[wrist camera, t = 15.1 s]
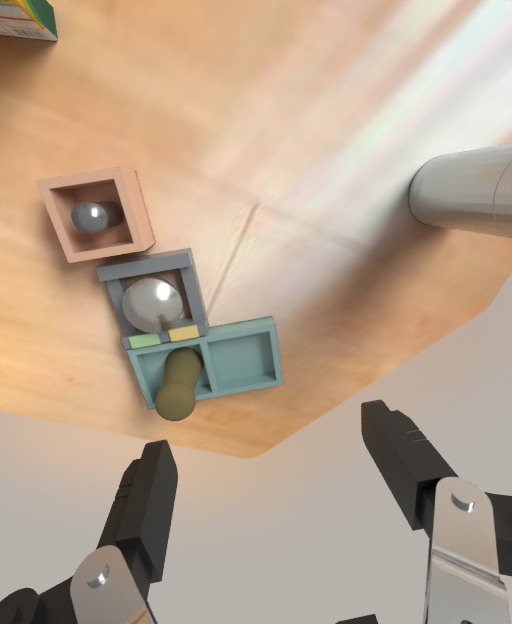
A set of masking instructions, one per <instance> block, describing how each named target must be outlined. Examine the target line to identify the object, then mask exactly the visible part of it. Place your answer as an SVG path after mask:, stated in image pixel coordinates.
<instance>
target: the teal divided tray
mask: <svg viewBox="0 0 512 624" xmlns="http://www.w3.org/2000/svg"><path fill="white" fill-rule="evenodd" d="M179 347H188V348H192V349H194V350H196V351H197V352H198V353H199V354H200V355H201V356H202V359H203V368H202V371H201V374H200V377H199V379H198V382H197V385H196V387H195V390H194V393H195V396H196V401H198V400H203V399H209V398H214V397H219V396H225V395H230V394H236V393H241V392H246V391H252V390H257V389H262V388H268V387H273V386H278V385H284V384H283V377H282V370H281V363H280V355H279V348H278V341H277V333H276V326H275V322H274V320H273V317H272V316H270V317H265V318H259V319H254V320H248V321H242V322H237V323H231V324H225V325H220V326H214V327H209V328H208V334H207V335H202V336H199V337H196V338H190V339H185V340H179V341H173V342H171V341H168V342H163V343H161V344H157V345H151V346H145V347H140V348H134V349H132V348H129V349H128V350H127V352H128V355H129V357H130V360H131V363H132V366H133V368H134V371H135V374H136V376H137V379H138V382H139V385H140V387H141V390H142V393H143V395H144V398H145V401H146V404H147V406H148V409H149V410H150V409H155V398H156V395H157V393H158V391H159V390H160V389H161V388H162V386H163V379H164V370H165V361H166V357H167V355H168V354H169V353H170V352H171V351H172V350H174V349H176V348H179Z"/></svg>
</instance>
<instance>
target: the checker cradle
mask: <svg viewBox="0 0 512 624" xmlns="http://www.w3.org/2000/svg"><path fill="white" fill-rule="evenodd" d="M177 268H180V271H181V275H182V279H183V283H184V287H185V290H186V294H187V298H188V302H189V306H190V310H191V314H192V317H186V318H181V319H179V320H178V322H177V323H176V325H175V326H173V327H172V328H171V329H169V330H167V331H165V332H161V333H148V332H144V331H142V330H139V329H138V328H136V327H134V326H133V325H132V324H131V323H130V322H129V321H128V320H127V318H126V316H125V315H124V312H123V308H122V299H123V296H124V293H125V291H126V290H127V289H128V288H127V285H126V282H125V280H124V277H130V276H136V275H142V274H148V273H154V272H159V271H165V270H171V269H177ZM95 270H96V273H97V276H98V279H99V281H100V282H101V281H105V283H106V285H107V288H108V291H109V294H110V296H111V299H112V302H113V305H114V307H115V310H116V313H117V316H118V318H119V321H120V324H121V327H122V329H123V332H124V334H123V336H122V337H121V340H122V343H123V346H124V349H129V348H132V349H134V348H140V347H145V346H151V345H157V344H161V343H163V342H168V341H171V342H173V341H179V340H185V339H190V338H196V337H199V336H202V335H207V334H208V327H209V323H208V319H207V315H206V311H205V306H204V302H203V298H202V294H201V289H200V285H199V281H198V276H197V272H196V268H195V264H194V259H193V255H192V251H191V248H187V249H181V250H175V251H169V252H163V253H157V254H151V255H145V256H140V257H134V258H128V259H122V260H116V261H110V262H105V263H103V264H101V265H99V266H98V267H96V268H95Z"/></svg>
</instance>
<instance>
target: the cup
mask: <svg viewBox="0 0 512 624" xmlns="http://www.w3.org/2000/svg"><path fill="white" fill-rule="evenodd" d="M35 181H36V183H37V186H38V188H39V191H40V193H41V196H42V198H43V201H44V203H45V206H46V208H47V211H48V213H49V216H50V218H51V221H52V223H53V226H54V228H55V230H56V233H57V235H58V238H59V240H60V243H61V245H62V248H63V250H64V253H65V255H66V258H67V260H68V263H72V262H78V261H84V260H90V259H96V258H102V257H108V256H114V255H120V254H126V253H132V252H138V251H144V250H146V249H147V248H149V247H150V246H152V245H153V244H154V243H156V241H155V238H154V234H153V231H152V227H151V223H150V220H149V216H148V213H147V209H146V205H145V202H144V198H143V195H142V191H141V188H140V184H139V180H138V177H137V173H136V171H135V170H131V169H127V168H123V167H116V168H110V169H104V170H97V171H91V172H85V173H78V174H72V175H66V176H59V177H53V178H47V179H40V180H35ZM99 201H112V202H115V203H116V204H118V205H119V206H120V208H121V209H122V211H123V221H122V222H121V224H120V225H118V226H116V227H113V228H109V229H106V230H103V231H100V232H96V233H93V234H87V233H84V232H82V231H80V230H78V229H77V228H76V227H75V225H74V224H73V222H72V219H71V211H72V209H73V207H74V206H75V205H77V204H79V203H84V202H99Z"/></svg>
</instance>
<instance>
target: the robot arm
mask: <svg viewBox="0 0 512 624" xmlns="http://www.w3.org/2000/svg"><path fill="white" fill-rule="evenodd" d="M409 205H410V208H411V211H412V213H413V215H414V216H415V217H416V219H417V220H419V221H420V222H422V223H424V224H427V225H432V226H439V227H445V228H451V229H457V230H463V231H470V232H476V233H483V234H489V235H496V236H502V237H509V238H512V143H511V144H505V145H499V146H494V147H488V148H482V149H476V150H470V151H464V152H458V153H453V154H447V155H442V156H438V157H436V158H433V159H432V160H430V161H429V162H427V163H426V164H425V165H424V166H423V167H422V168H421V169H420V170H419V172H418V173H417V174H416V176H415V178H414V180H413V182H412V185H411V188H410V193H409ZM361 421H362V423H361V424H362V436H363V440H364V443H365V445H366V447H367V449H368V451H369V453H370V455H371V456H372V458H373V460H374V462H375V463H376V465H377V467H378V469H379V471H380V472H381V474H382V476H383V478H384V480H385V481H386V483H387V485H388V487H389V489H390V490H391V492H392V494H393V496H394V498H395V499H396V501H397V503H398V505H399V507H400V508H401V510H402V512H403V514H404V516H405V517H406V519H407V521H408V523H409V525H410V526H411V528H412V530H413V531H414V530H419V529H424V530H425V532H426V533H427V535H428V537H429V538H430V539H429V551H428V564H427V577H426V591H425V604H424V615H423V624H510V615H509V606H508V597H507V591H506V587H505V585H504V583H503V582H501V581H500V576H499V574H502V575H508V576H512V496H506V495H497V494H491V493H487V492H483V491H482V490H481V489H480V488H479V487H478V486H476V485H475V484H473V483H472V482H470V481H467V480H465V479H462V478H459V477H458V475H457V474H456V473H455V472H454V471H453V470H452V468H451V467H450V466H449V465H448V464H447V462H446V461H445V460H444V459H443V458H442V457H441V455H440V454H439V453H438V451H437V450H436V449H435V448H434V447H433V445H432V444H431V443H430V442H429V440H427V439H426V437H425V436H424V435H423V433H422V432H421V431H419V428H418V427H417V426H416V425H415V423H414V422H413V421H412V420H411V419H410V418H409V417H407V416H406V415H404V414H403V413H401V412H400V411H398V410H396V411H390V410H389V408H388V407H387V406H386V405H385V403H384V402H383V401H382V400H376V401H370V402H365V403H362V405H361ZM177 482H178V473H177V467H176V464H175V461H174V458H173V456H172V452H171V450H170V447H169V444H168V442H167V440H161V441H156V442H150V443H147V444H146V445H145V447H144V450H143V453H142V457H141V459H136V460H133V462H132V463H131V464H130V466H129V467H128V468H127V470H126V471H125V472H124V474H123V477H122V480H121V482H120V485H119V489H118V491H117V493H116V496H115V501H114V502H113V504H112V507H111V510H110V513H109V516H108V518H107V521H106V524H105V527H104V530H103V532H102V535H101V538H100V541H99V543H98V546H97V548H96V550H95V551H94V552H92V553H91V554H90V555H89V556H87V557H86V558H85V559H84V561H83V562H82V563H81V564H80V566H79V567H78V569H77V570H76V572H75V574H74V575H73V576H72V577H70V578H69V579H67V580H65V581H63V582H62V583H60V584H58V585H56V586H54V587H52V588H51V589H49V590H47V591H45V592H43V593H42V594H40V595H38V594H37V593H36V591H34V590H33V589H31V588H24V589H20V590H17V591H15V592H13V593H12V594H10V595H8V596H7V597H6V598H4V599H3V600H2V601H1V602H0V624H158V622H157V620H156V618H155V616H154V613H153V611H152V609H151V607H150V605H149V603H148V601H147V597H148V592H149V586H150V583H155V582H160V581H162V574H163V568H164V562H165V556H166V550H167V544H168V538H169V532H170V526H171V519H172V513H173V507H174V501H175V495H176V489H177ZM336 624H378V622H377V619H376V616H375V614H372V615H367V616H363V617H358V618H353V619H349V620H344V621H339V622H337V623H336Z"/></svg>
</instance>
